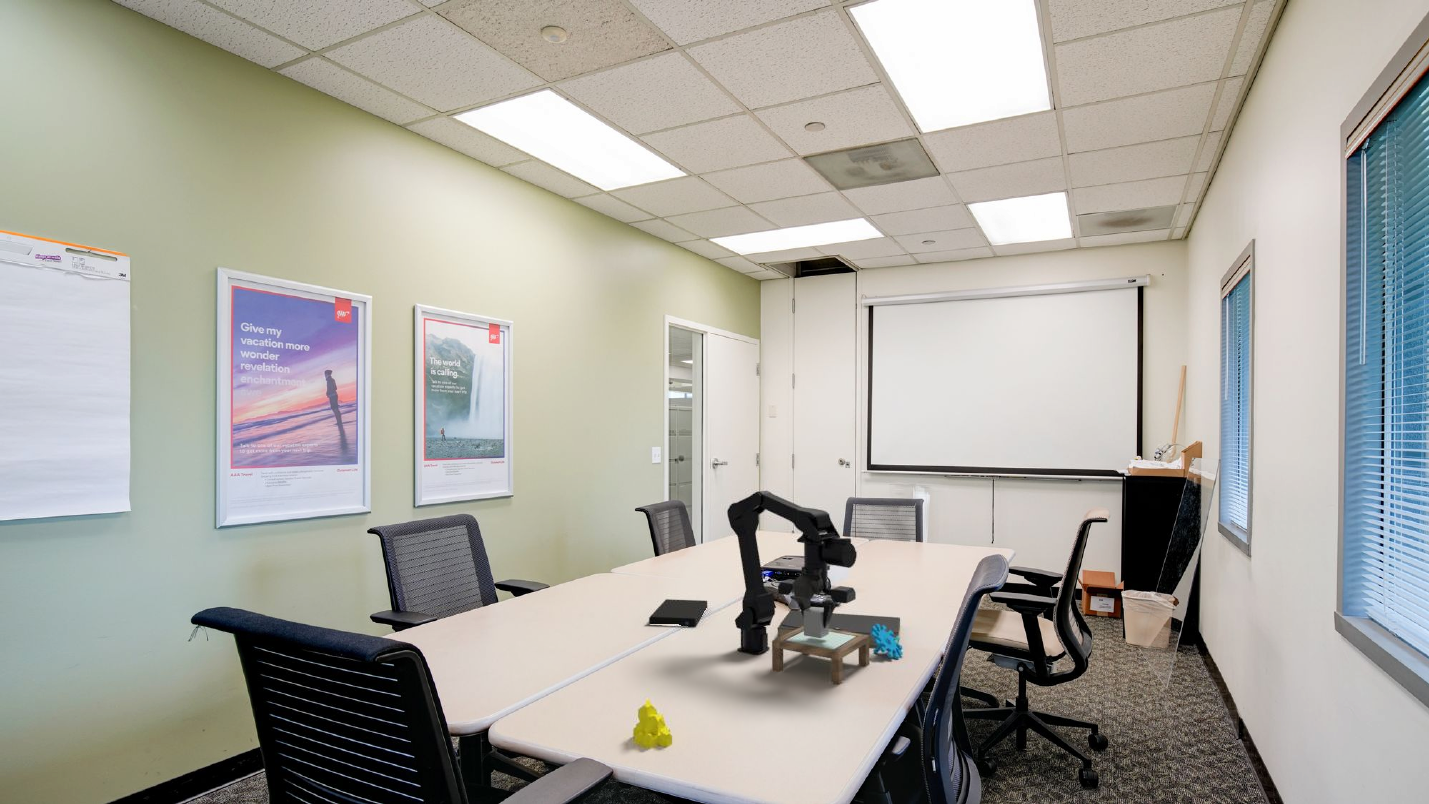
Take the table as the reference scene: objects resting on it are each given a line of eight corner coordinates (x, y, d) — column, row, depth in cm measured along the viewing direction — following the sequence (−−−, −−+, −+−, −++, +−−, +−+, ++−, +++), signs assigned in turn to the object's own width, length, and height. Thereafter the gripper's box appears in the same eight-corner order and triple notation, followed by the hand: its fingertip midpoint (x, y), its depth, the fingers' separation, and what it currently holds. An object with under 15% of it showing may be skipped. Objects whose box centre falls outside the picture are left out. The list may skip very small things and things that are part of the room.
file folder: (777, 626, 197) (791, 608, 221) (777, 641, 197) (791, 621, 220) (898, 635, 188) (900, 614, 212) (898, 651, 188) (900, 628, 211)
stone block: (803, 635, 172) (803, 610, 172) (812, 631, 175) (812, 606, 176) (820, 638, 169) (820, 613, 169) (828, 634, 173) (828, 609, 173)
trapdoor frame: (772, 669, 172) (772, 640, 172) (806, 651, 186) (805, 624, 187) (839, 684, 162) (838, 653, 162) (869, 663, 176) (869, 635, 176)
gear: (888, 657, 176) (867, 622, 182) (873, 670, 179) (853, 636, 185) (913, 654, 183) (892, 621, 189) (898, 667, 186) (878, 634, 192)
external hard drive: (707, 609, 233) (707, 600, 233) (695, 628, 210) (695, 618, 210) (665, 608, 235) (665, 599, 235) (649, 627, 212) (649, 616, 212)
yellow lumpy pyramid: (659, 752, 128) (660, 708, 128) (626, 741, 132) (626, 699, 132) (678, 740, 132) (679, 698, 133) (645, 730, 137) (645, 690, 137)
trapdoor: (809, 632, 183) (809, 628, 183) (856, 640, 176) (856, 636, 176) (785, 644, 173) (785, 640, 173) (833, 653, 165) (833, 649, 165)
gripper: (766, 563, 172) (766, 627, 171) (836, 571, 161) (837, 640, 160) (788, 556, 181) (788, 618, 180) (856, 564, 170) (856, 629, 170)
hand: (816, 626), depth 172 cm, fingers closed on stone block, 4 cm apart
